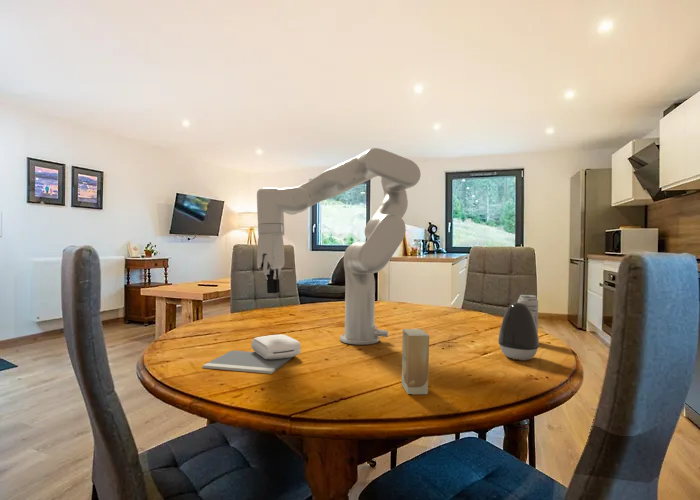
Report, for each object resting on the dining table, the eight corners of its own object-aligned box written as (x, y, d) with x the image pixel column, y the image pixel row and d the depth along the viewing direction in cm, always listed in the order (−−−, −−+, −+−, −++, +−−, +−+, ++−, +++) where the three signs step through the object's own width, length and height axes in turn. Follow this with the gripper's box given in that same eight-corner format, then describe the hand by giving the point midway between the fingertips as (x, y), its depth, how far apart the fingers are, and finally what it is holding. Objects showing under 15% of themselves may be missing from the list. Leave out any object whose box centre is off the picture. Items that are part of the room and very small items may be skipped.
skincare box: (400, 384, 83) (401, 328, 83) (420, 383, 83) (421, 328, 83) (407, 395, 76) (408, 334, 76) (429, 395, 77) (429, 334, 76)
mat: (292, 357, 102) (292, 354, 102) (271, 373, 88) (271, 371, 88) (231, 352, 106) (231, 350, 106) (202, 367, 92) (202, 365, 92)
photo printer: (285, 332, 110) (304, 341, 100) (285, 347, 110) (304, 357, 100) (251, 336, 105) (266, 346, 94) (250, 351, 105) (266, 363, 94)
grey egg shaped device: (544, 357, 105) (544, 302, 105) (531, 365, 97) (532, 306, 97) (506, 350, 112) (507, 299, 112) (492, 357, 104) (492, 302, 104)
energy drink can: (538, 341, 123) (539, 295, 123) (536, 345, 118) (537, 297, 118) (518, 338, 127) (519, 294, 126) (515, 342, 121) (516, 295, 121)
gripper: (269, 231, 119) (271, 289, 119) (247, 230, 104) (250, 296, 105) (292, 230, 118) (294, 289, 118) (273, 229, 103) (275, 296, 103)
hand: (273, 292), depth 111 cm, fingers closed
